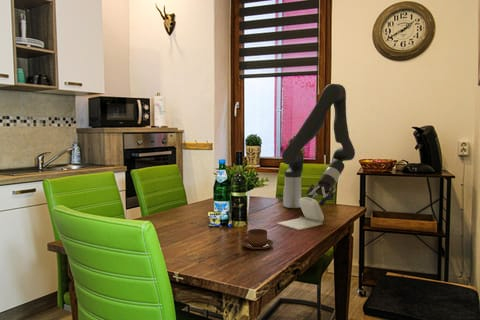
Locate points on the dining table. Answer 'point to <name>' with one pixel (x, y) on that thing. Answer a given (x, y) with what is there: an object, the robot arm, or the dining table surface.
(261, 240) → the cup and saucer
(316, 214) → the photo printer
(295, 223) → the pad
